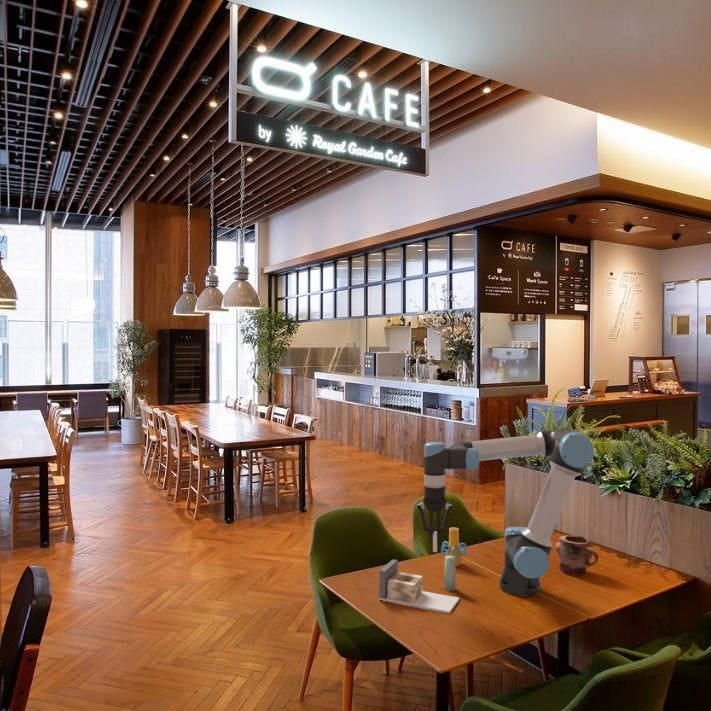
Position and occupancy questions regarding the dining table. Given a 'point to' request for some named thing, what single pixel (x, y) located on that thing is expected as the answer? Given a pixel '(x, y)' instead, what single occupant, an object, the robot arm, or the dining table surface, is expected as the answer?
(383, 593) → the backstop
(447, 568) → the dowel
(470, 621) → the dining table surface
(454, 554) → the orange ringed tube
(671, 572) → the dining table surface
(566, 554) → the brown ceramic mug
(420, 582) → the block
